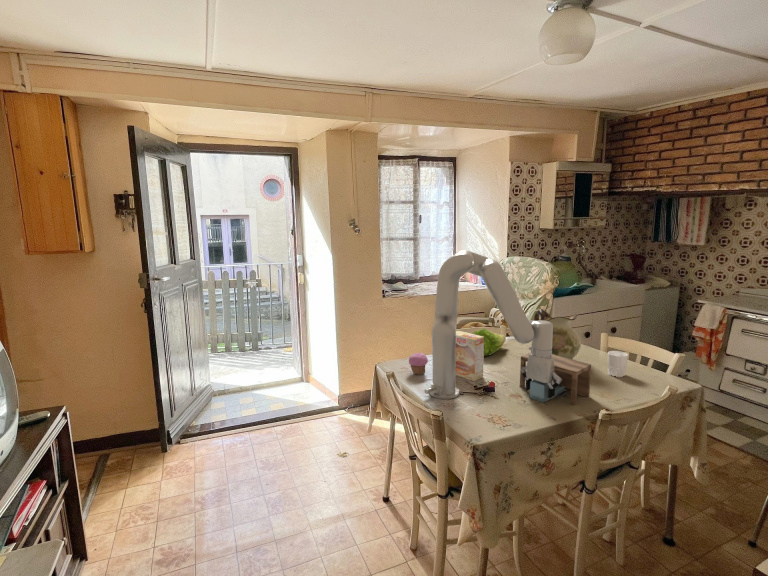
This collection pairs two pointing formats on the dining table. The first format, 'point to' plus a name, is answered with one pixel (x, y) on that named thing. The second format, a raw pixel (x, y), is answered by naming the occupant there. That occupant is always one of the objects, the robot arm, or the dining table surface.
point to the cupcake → (418, 363)
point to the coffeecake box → (469, 355)
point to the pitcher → (562, 335)
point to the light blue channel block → (542, 391)
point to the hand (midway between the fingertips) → (539, 393)
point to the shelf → (567, 376)
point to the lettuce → (490, 341)
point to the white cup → (617, 363)
